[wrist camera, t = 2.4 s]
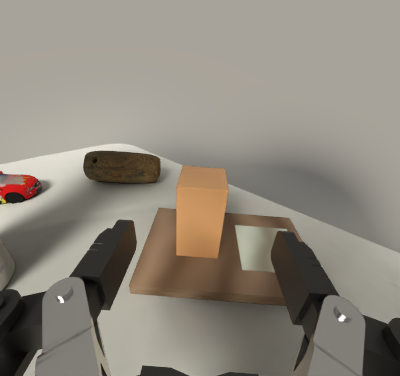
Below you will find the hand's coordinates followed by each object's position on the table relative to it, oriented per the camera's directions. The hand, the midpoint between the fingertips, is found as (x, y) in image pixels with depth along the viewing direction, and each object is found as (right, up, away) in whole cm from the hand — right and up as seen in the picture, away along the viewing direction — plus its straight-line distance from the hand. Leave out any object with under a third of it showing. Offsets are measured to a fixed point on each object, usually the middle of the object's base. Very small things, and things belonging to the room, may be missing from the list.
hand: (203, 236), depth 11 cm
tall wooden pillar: (0, -5, +16) cm, 16 cm away
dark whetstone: (-17, +4, +33) cm, 37 cm away
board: (+3, -6, +16) cm, 18 cm away
